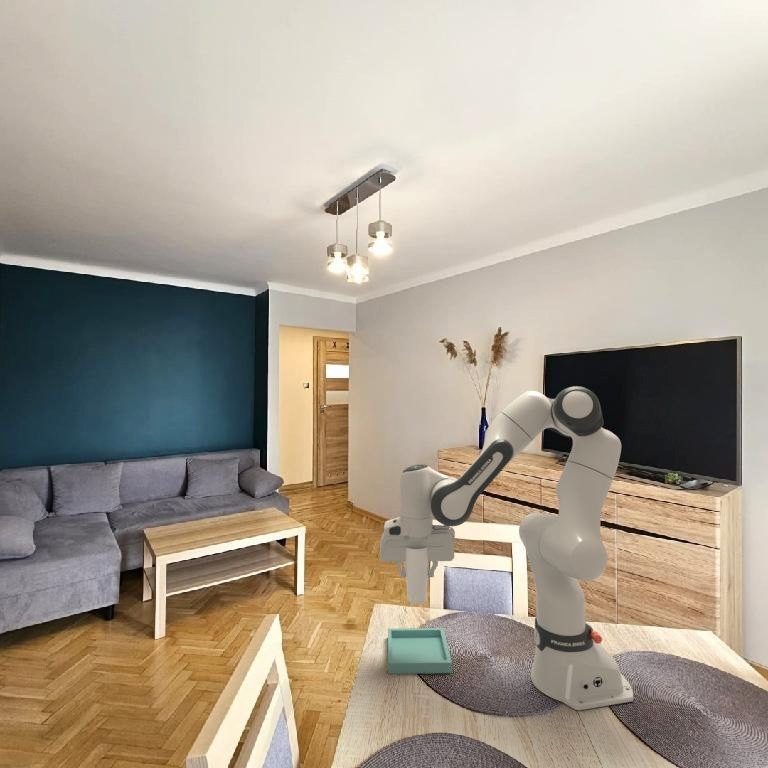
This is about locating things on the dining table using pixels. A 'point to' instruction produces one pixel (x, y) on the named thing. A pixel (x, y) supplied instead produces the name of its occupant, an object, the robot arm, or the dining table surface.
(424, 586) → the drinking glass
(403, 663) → the tray
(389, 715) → the dining table surface
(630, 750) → the dining table surface
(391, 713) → the dining table surface
